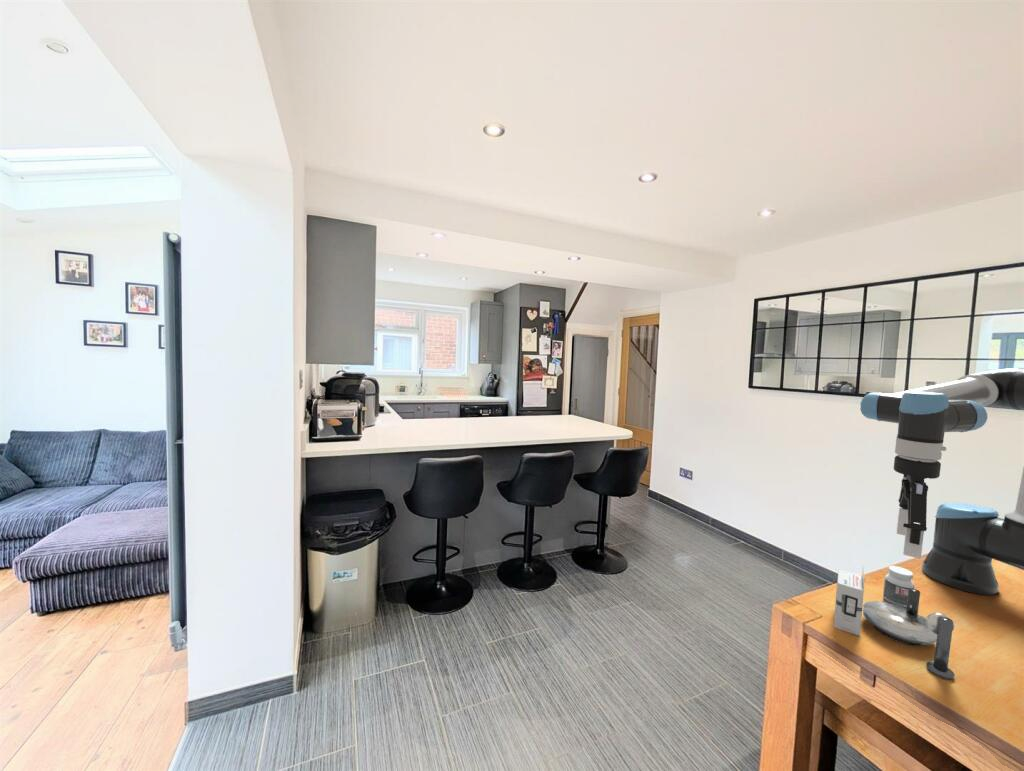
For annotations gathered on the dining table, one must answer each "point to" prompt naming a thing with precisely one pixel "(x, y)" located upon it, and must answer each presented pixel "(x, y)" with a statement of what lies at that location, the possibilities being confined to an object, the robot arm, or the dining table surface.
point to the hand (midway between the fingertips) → (907, 545)
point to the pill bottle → (897, 586)
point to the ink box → (849, 601)
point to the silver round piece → (900, 619)
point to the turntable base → (897, 638)
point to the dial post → (941, 644)
